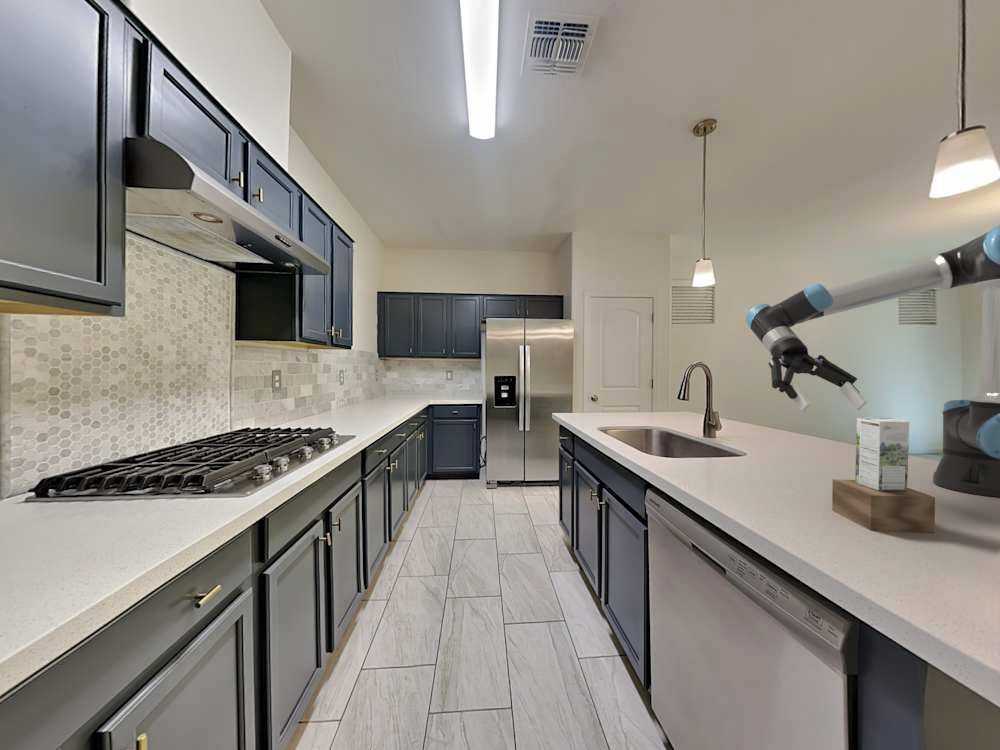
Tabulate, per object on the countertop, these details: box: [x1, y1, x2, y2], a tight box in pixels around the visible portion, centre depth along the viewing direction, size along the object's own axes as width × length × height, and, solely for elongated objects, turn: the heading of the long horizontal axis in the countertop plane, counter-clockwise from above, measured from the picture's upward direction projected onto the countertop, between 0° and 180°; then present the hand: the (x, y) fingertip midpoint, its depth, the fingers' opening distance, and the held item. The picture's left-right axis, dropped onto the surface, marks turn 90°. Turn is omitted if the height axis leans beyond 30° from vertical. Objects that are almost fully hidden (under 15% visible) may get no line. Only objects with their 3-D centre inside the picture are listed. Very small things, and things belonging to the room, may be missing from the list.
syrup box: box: [854, 417, 910, 491], centre depth 83 cm, size 6×6×14 cm
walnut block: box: [831, 479, 936, 534], centre depth 83 cm, size 11×11×7 cm
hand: (834, 406), depth 93 cm, fingers open, 13 cm apart
